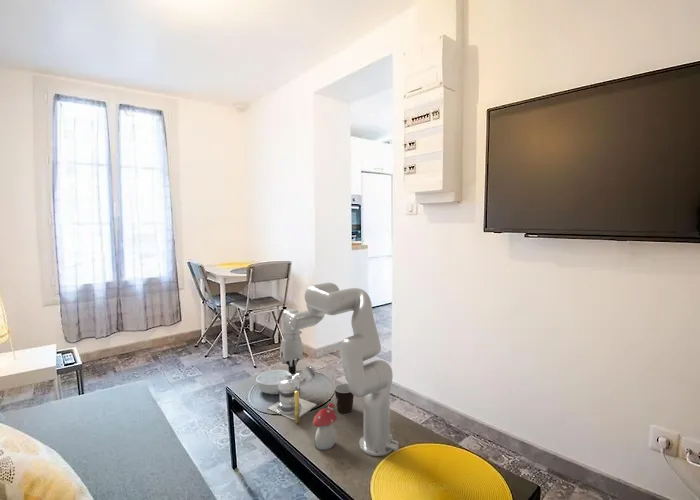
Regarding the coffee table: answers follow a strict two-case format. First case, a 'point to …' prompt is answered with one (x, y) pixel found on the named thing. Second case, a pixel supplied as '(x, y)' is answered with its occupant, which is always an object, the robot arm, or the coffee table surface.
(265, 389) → the cereal bowl
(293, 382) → the elbow
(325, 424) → the decorative ornament
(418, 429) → the coffee table surface
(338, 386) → the coffee mug
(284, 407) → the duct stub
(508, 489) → the coffee table surface
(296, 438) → the coffee table surface
